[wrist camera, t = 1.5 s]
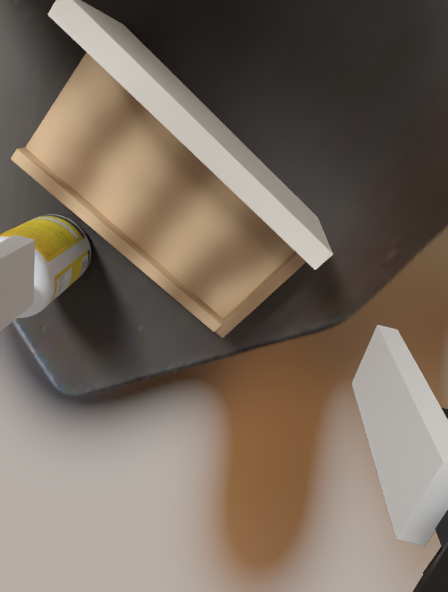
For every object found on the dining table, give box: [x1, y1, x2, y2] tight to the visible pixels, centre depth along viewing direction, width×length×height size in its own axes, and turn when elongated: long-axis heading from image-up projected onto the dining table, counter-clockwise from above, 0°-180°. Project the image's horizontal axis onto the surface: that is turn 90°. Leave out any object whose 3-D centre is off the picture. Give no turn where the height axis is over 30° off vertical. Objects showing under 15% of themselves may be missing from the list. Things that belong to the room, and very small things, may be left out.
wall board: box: [48, 0, 333, 270], centre depth 29 cm, size 21×2×10 cm, turn 48°
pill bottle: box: [0, 214, 91, 318], centre depth 34 cm, size 6×6×12 cm
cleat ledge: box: [11, 52, 306, 338], centre depth 34 cm, size 22×11×4 cm, turn 48°
